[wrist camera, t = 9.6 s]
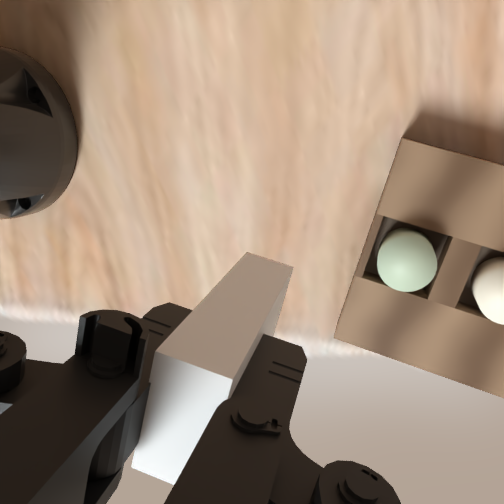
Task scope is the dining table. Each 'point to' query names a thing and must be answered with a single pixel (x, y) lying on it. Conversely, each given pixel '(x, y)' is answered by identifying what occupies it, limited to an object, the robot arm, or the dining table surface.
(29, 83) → the robot arm
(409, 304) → the wooden egg tray
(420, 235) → the pale green egg
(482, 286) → the white egg
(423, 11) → the dining table surface
